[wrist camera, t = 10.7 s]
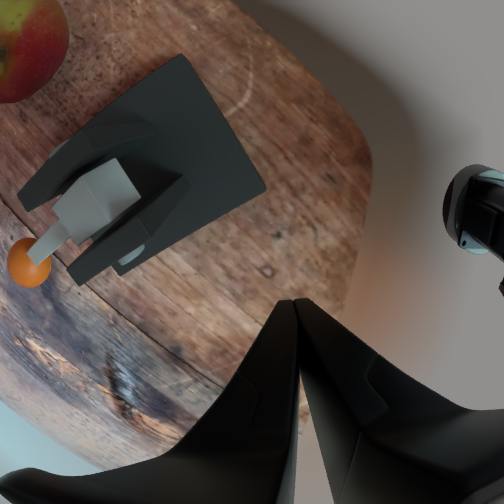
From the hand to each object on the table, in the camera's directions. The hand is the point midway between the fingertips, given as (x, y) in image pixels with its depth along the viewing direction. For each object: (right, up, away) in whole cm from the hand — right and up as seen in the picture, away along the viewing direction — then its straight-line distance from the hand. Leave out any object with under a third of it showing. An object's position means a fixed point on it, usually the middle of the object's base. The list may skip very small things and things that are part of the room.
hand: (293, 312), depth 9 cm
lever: (-11, +3, +7) cm, 14 cm away
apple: (-16, +16, +7) cm, 24 cm away
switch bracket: (-8, +7, +11) cm, 15 cm away
